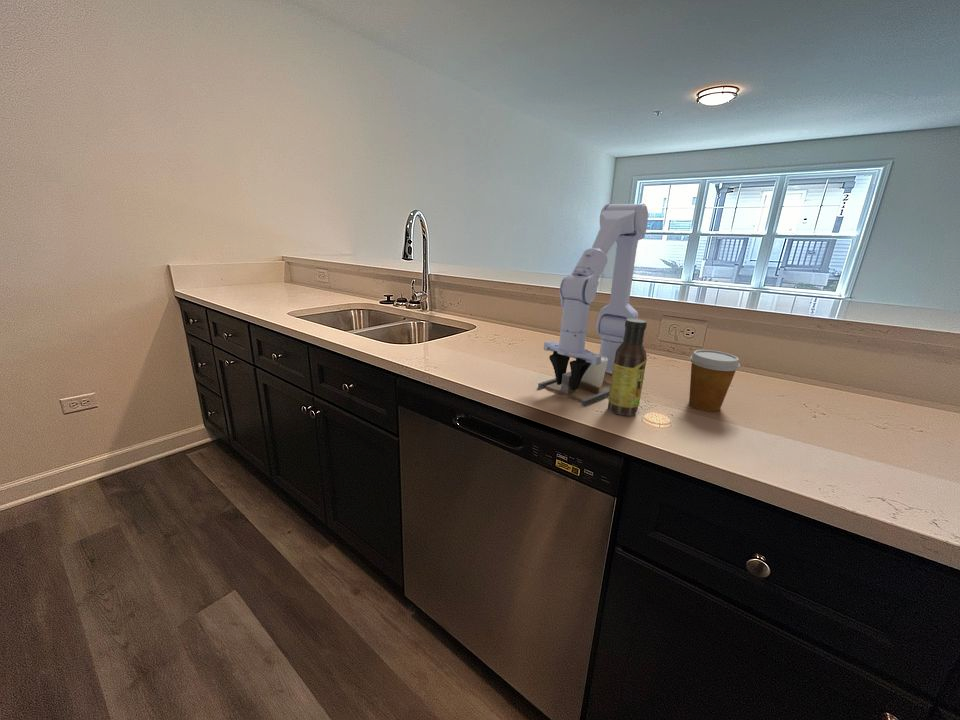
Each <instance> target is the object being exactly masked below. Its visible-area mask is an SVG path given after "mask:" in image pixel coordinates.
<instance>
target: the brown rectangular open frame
mask: <svg viewBox="0 0 960 720" xmlns="http://www.w3.org/2000/svg"><path fill="white" fill-rule="evenodd" d="M570 384H571V371H568V372H567V371H566V373H564V374H562V383H561V385H557V382H556V383H553V384H550V385H547V386H546V387H545V389H547V390H549V391H552V392H555V393H557V394H559V395H562V396H565V397H567V398H570V399H571V400H575V401H577V402H580V403H581V401H582V400H584V399H586V398H589V397H591V396H594V395H596V394H599V393H601V392H604V391H606V390H609V389H610V385H611V382H608V381H605V380H603V383H602V386H601V387H597V386H594V385H591V384H588V383H586V382H583V381H581V382H580V385H579V387H578V389H576V390H571V388H570Z"/></svg>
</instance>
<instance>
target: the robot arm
mask: <svg viewBox="0 0 960 720" xmlns="http://www.w3.org/2000/svg"><path fill="white" fill-rule="evenodd" d="M648 219H649V211H648V206H647V205H646V204H645V203H644V202H641V203H614V204H613V203H606V204H605V205H603V206H602V208H601V211H600V214H599V230H598V233H597V235H596V237H595V240H594V241H593V244H592V247H591V248H588V249H585V250H584V251H583V253H582V255H581V257H580V258H579V260H578V262H577V263H576V265H575V267H574V269H573V271H572V272H571V274H568V275H567V276H565V277H563V279H562V280H561V282H560V285H559V286H560V287H559V288H558V293H559V298H560V308H561V309H562V313H561V322H560V333H559V342H555V341H548V340H547V341H545V342H544V343H543V350H544V351H546V352H548V351H549V352H552V354H550V355H549V358H548V359H549V361H550V363H551V365H552V367H553V371H554V374H555V375H554V376H555V378H556V382H557V385H561V383H562V374H564V373H567V371H568V370H567V369H568V365H569V367H570V372H571V384H570V388H571V390H576V389H578V387H579V385H580V382H581V380H582V378H583V376H584V374H585V372H586V371H587V369H588V368H589V366H590V365H591V364H592V365H595V366H596V365H599V364H601V357H602V356H600V355H603V356H605V357H607V358H608V362H607V366H606V370H605V373H607V374H610V375H612V372H613V365H614V361H615V355H616V350H617V349H618V348H619V346H620V345H621V344H622V343H623V338H624V335H625V322H626V320H627V319H639V312H638V310H636V309H635V308H634V307H633V306H632V305H631V304H630V299H631V291H632V283H633V277H634V276H633V275H634V269H635V263H636V254H637V249H638V243H639V241H640V240H642V239H644V238H645V235H646V233H647V227H648ZM615 243H616V248H615V249H616V250H615V258H614V266H613V274H612V282H611V288H610V297H609V298H610V299H609V303H608V304H606V305H605V306H603V307H601V308H600V310H599V315H598V318H597V321H596V325H595V328H596V329H595V330H596V332H597V335H599V338H600V339H601V340H600V349H599V355H597V354H598V353H594V352H593V351H590V350H588V349H586V347H585V346H586V339H587V331H588V325H589V324H588V323H589V317H590V315H589V314H590V306H591V303H592V302H593V301H594V300H595V297H596V296H597V291H598V286H599V283H600V282H599V279H600V277H601V275H602V273H603V272H604V269H605V268H606V266H607V265H608V257H607V254H608V253H609V251H610V250H611V249H612V247H613V245H614V244H615ZM571 358H573V359H575V360H572V361H570V359H571Z"/></svg>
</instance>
